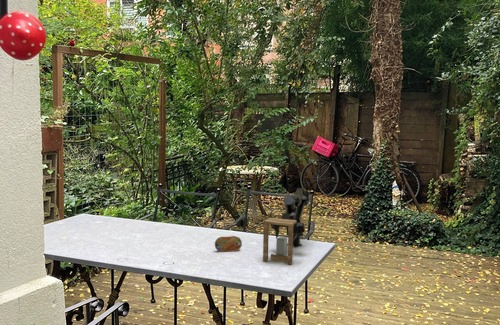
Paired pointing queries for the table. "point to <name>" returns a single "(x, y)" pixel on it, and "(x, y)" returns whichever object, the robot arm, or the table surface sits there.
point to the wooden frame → (290, 240)
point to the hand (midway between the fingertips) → (284, 239)
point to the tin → (228, 244)
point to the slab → (281, 246)
